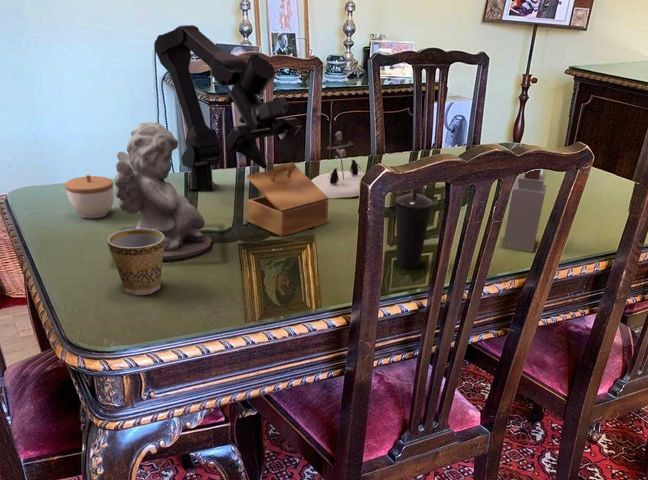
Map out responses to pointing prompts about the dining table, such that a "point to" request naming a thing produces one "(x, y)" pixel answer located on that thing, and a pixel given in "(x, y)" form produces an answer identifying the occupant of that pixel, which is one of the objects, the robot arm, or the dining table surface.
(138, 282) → the ceramic cup
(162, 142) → the angel statue
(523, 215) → the perfume bottle
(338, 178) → the figurine
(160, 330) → the dining table surface
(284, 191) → the lid
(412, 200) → the drinking cup
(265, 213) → the chest
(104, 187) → the trinket box
